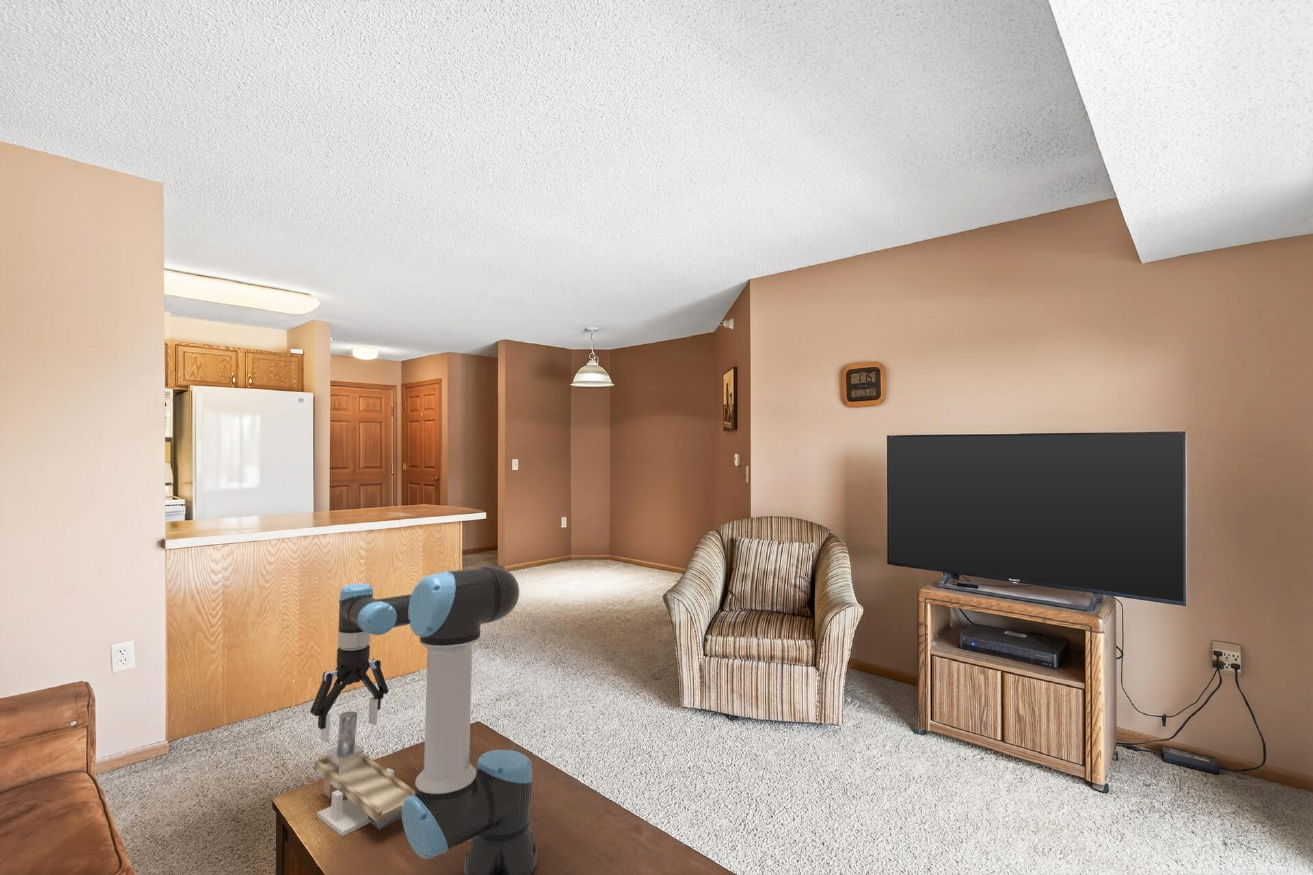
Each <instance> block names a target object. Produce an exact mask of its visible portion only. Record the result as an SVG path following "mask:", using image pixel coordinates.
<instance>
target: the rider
mask: <svg viewBox="0 0 1313 875" xmlns="http://www.w3.org/2000/svg"><path fill="white" fill-rule="evenodd" d="M357 721H358V713H357V712H356V711H345V712H343V713H341V714H339V724H338V733H337V735H338V736H337V737H338V738H337V746H335V747H333V748H329V749H327V755H328V757H327V766H328V767H329V768H330V769H332V770H333V771H334V772H335V773H337V774H338V775H340V774H342V773H345V772H347V771H350V770H352V769H355V768H357V767H359V766H362V761H363V754H364V749H363V748H361V747H360V746H359V745H358V744H356V734H357V724H358V723H357Z"/></svg>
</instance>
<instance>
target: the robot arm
mask: <svg viewBox="0 0 1313 875" xmlns="http://www.w3.org/2000/svg"><path fill="white" fill-rule="evenodd" d="M373 596H374V590H373V585H371V584H369V583H352V584H347V585H344V586H343V587H342V588H341V589H340V594H339V600H338V602H339V603H338V604H339V606H338V607H339V608H338V628H337V629H338V630H337V646H338V647H337V650H336V669H335V670H332V671H329V672H328V671H323V673H322V678H321V679H322V680H321V683H320V686H319V689H318V691H317V693H316V695H315V698H314V700H313V703H312V705H311V708H310V711H309V713H310V714H311V715H313V716H315V717H317V718H318V719H317V729H320V741H322V742H324V743H325V744H326V743H329V742H330V728H331V727H330V726H331V714H329V712H330V711H331V709H332V707H333V705H334V704H335V702H336V701H337V699H338V697H339V696H340V694H341V693H342V691H343V690H344V689H345V688H346V687H347V686H349V685H353V684H354V683H360V682H362V684H363V685H364V686H365V688H367V690H368V692H370V694H371V695H372V696H370V697H369V706H368V707H369V708H368V724H371V725H373V726H377V724H378V711H380V710H381V702H382V701H381V700H382V699H383V698H384V695H387V694H388V693H389V687H388V685H387V682H386V679H385V677H384V674H383V672H382V669H381V668H382V666H381V664H382V663H381V662H382V661H381V660H379V659H376V658H371V660H370V652H371V646H370V643H371V635H374V636H381V635H384V634H385V635H386V634H387V633H388V632H390V631H391V630H392V629H394V628H398V627H403V626H404V627H405V626H408V625H409V627H410V629H411V631H412V632H413V634H414V635H415V636H417V637H419V642H420V644H421V645H422V646H423V647H424V648H426V650H427V659H426V660H427V661H426V662H427V663H426V693H425V694H426V695H425V721H424V723H425V724H424V726H425V727H424V749H423V750H424V753H423V754H424V757H423V770H422V771H421V772H420V773H419V774H418V775H417V777H416V778H415V781H414V783H415V784H414V790H415V794H414V795H410V796H409V797H408V798H406V799H405V801H404V803H403V805H402V818H401V820H402V824H403V825H402V826H403V829H404V833H405V835H406V839H407V841H408V843H409V844H410V846H411V849H412V850H413V852H415V854H417V855H418V856H419V857H420V858H421V859H427V860H428V859H432V858H434V857H436V856H439V855H441V854H446V853H447V852H448V851H450V850H451V849H453V848H455V847H457V846H458V845H461V844H464V843H465V842H467V841H469V840H471V842H470V845H469V848H468V850H467V851H466V854H465V858H464V868H463V869H464V870H463V871H464V872H463V873H464V875H530V874H531V873H532V872H534V871H535V869H536V867H537V863H538V862H537V859H538V858H537V857H538V851H537V846H536V843H535V842H536V841H535V838H534V836H533V832H532V828H531V808H532V807H531V805H532V785H533V784H532V783H533V769H532V768H533V766H532V765H533V764H532V762H531V760H530V758H529V757H528V756H527V755H525V754H524V753H521V752H520V751H516V750H510V749H493V750H490V751H489V750H488V751H486V752H484V753H482V754H481V755H480V756H479V758H478V759H477V762H476V768H475V766H473V765H472V764H471V763H470V746H471V745H470V738H471V737H470V736H471V735H470V734H471V707H472V706H471V703H472V701H471V700H472V699H471V698H472V672H473V671H472V667H473V666H472V665H473V662H472V661H473V646H474V645H475V644H476V643H477V642H478V640H480V638H481V626H482V625H484V624H487V623H488V624H489V623H492V622H493V623H494V622H496V621H499V620H501V619H503V618H504V617H506V616H508V615H509V614H510V613H511V612H512V611H513V610H514V609H515V607H516V605H517V603H518V602H519V598H520V587H519V584H518V581H517V579H516V577H515V576H514V575H513V574H512V573H511V572H510V571H509V570H507V569H505V568H502V567H499V566H483V567H476V568H467V569H459V570H451V571H441V572H439V573H434V574H429V575H426V576H424V577H422V578H421V579H420V580H419V581H418V582H417V584H416V585H415V586H414V588H413V590H412V592H411V594H405V595H404V594H403V595H396V596H392V597H383V598H374V597H373ZM369 669H371V671H372V674H373V676H374V680H375V682H376V685H377V686H376V685H375V683H373V681H372V680H371V678H370V677H369V676H368V674H367V672H368V670H369ZM335 678H336V680H335ZM333 681H334V682H333ZM332 683H333V685H332ZM331 687H332V688H331ZM377 687H378V688H377ZM535 866H536V867H535ZM534 868H535V869H534ZM533 870H534V871H533ZM532 874H533V873H532ZM532 874H531V875H532Z"/></svg>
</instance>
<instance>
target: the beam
mask: <svg viewBox="0 0 1313 875" xmlns="http://www.w3.org/2000/svg"><path fill="white" fill-rule="evenodd" d="M327 757H328V754H326V755H323V756H321V757H318V760H315V761H314V766H313V767H314V768H313V771H315V772H316V773H317V774H318V775H319V776H321V777H322V778H323V780H327V781H328V782H329V783H330V784H331V785H333V786H334V787H335V788H336V789H338V790H339V791H340V792H341V793H343V799H344V798H346V799H350V800H351V801H352V802H353V803H354V804H356V805H357V806H358V807H359V808H360V809H362V810H363V811H364V812H365V813H367V814H368V821H370V823H371V824H372V826H374V827H375V828H376V829H378V830H379V831H380V830H382V829H384V828H385V827H387V826H389V825H391V824H393V823H396V822H398V821H399V820H402V805H403V803H404V801H405V799H406V798H408V797H409V796H410V795H414V794H415V789H413V788H412V787H411V786H409V785H408V784H406V783H405V782H403V781H402V780H401V779H400V778H398V777H396V776H395V774H394V775H392V774H391V773H390V772H388V771H387V770H386V769H385V768H384V767H383V766H381V765H380V764H378V763H377V762H376V761H375V760H373V759H372V758H371V757H369V756H368V755H366V754H365V753H363V761H362V766H359V767H357V768H355V769H352V770H350V771H347V772H345V773H342V774H340V775H338V774H337V773H335V772H334V771H333V770H332V769H330V768H329V767H328V766H327Z"/></svg>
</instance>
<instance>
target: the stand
mask: <svg viewBox="0 0 1313 875" xmlns="http://www.w3.org/2000/svg"><path fill="white" fill-rule="evenodd" d="M385 770H387V771H388V772H390V773H391V774H392V775H394V776H395V770H393V769H392V768H390V767H388V768H386V769H385ZM323 780H324V781H323V783H324V784H323V795H325V796H326V797H328V798H329V799H330V798H331V802H330V804H331V805H330V806H328V807H326V808H324V809H322V810H319V811H317V818H319V819H320V820H321V821H322V822H324V823H325V824H326V825H327V826H328V827H330V828H331V829H333V830H334V831H335V832H336V833H338V834H339V835H340V836H341V837H343V836H345V835H348V834H350V833H352V832H354V831H356V830H358V829H360V828H362V827H364V826H366V825H368V824H370V823H371V822H370V821H368V814H367V813H365V812H364V811H363V810H362V809H360V808H359V807H358V806H357V805H356V804H354V803H353V802H352V801H351V800H350V799H348V798H346V799H344V798H343V793H341V792H340V791H339V790H338V789H336V788H335V787H334V786H333V785H331V784H330V783H329V782H328V781H327V780H325V779H323Z"/></svg>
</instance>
